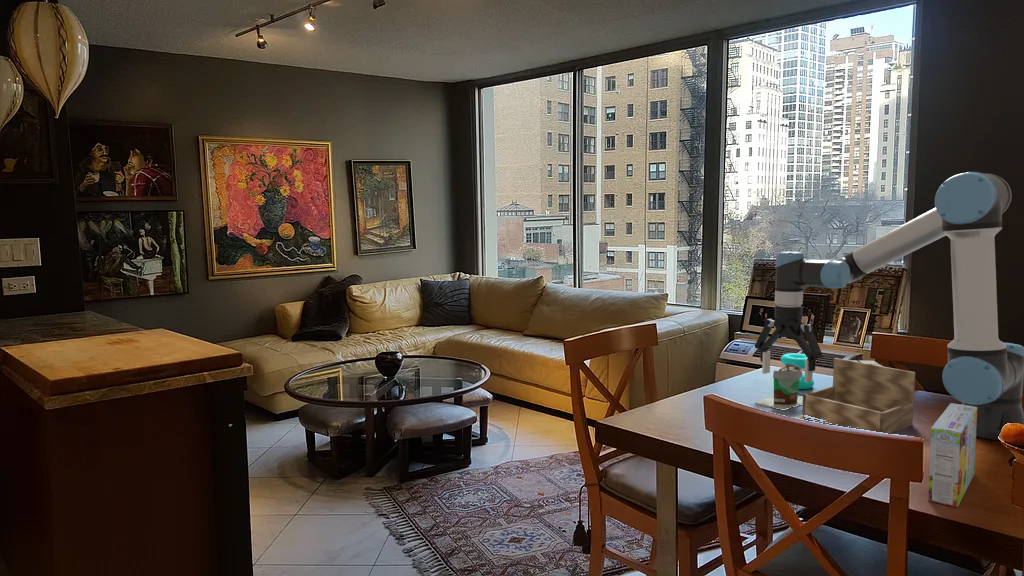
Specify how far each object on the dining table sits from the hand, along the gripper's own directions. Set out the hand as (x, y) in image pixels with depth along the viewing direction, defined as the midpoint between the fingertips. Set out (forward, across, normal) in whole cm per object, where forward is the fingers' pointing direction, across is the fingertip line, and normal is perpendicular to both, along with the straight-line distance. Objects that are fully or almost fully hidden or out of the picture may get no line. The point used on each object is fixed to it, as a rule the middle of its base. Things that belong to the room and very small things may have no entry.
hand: (786, 377), depth 198 cm
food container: (+7, -1, 0) cm, 7 cm away
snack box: (+8, -55, +27) cm, 62 cm away
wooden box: (+8, -21, +3) cm, 22 cm away
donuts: (+8, +8, -19) cm, 22 cm away
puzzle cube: (+8, -10, -24) cm, 27 cm away
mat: (+8, 0, 0) cm, 8 cm away
